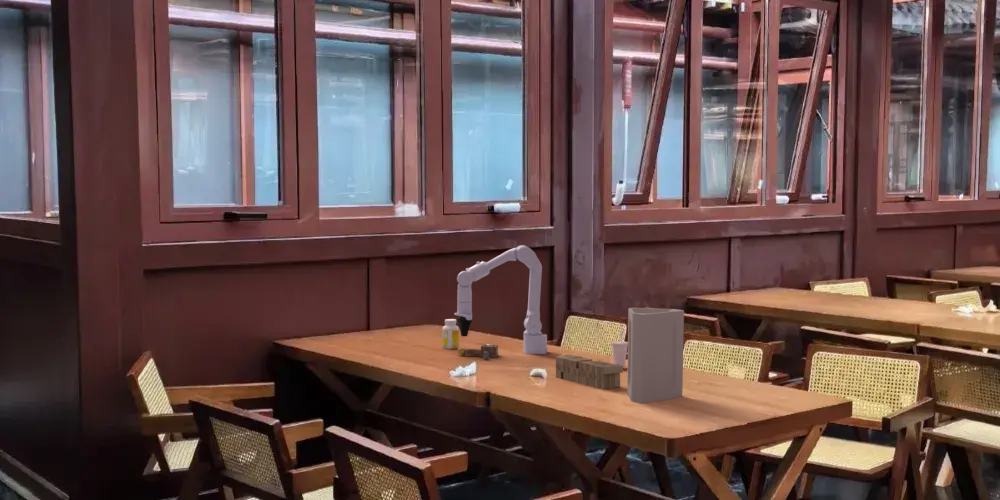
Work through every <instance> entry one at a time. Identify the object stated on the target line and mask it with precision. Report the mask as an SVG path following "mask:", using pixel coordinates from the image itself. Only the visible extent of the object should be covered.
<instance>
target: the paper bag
mask: <svg viewBox="0 0 1000 500" xmlns="http://www.w3.org/2000/svg"><path fill="white" fill-rule="evenodd" d="M627 319H628V323H627V325H628V327H627V331H628V332H627V334H628V335H627V342H628V346H627V383H626V384H627V385H626V386H627V387H626V388H627V390H626V392H627V393H626V394H627V395H628V398H629V400H630V401H631V402H632V403H638V404H648V403H651V402H652V403H653V402H660V401H666V400H671V399H677V398H682V397H683V386H684V385H683V383H684V381H683V380H684V376H683V374H684V370H683V369H684V332H685V331H684V327H685V310H683V309H677V308H656V307H655V308H653V307H652V308H651V307H629V308H628V318H627Z"/></svg>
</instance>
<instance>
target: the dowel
mask: <svg viewBox="0 0 1000 500" xmlns="http://www.w3.org/2000/svg"><path fill="white" fill-rule="evenodd" d="M489 358H490V357H489V352H488V351H484V357H483V360H484V361H489Z"/></svg>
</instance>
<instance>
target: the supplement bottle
mask: <svg viewBox="0 0 1000 500" xmlns="http://www.w3.org/2000/svg"><path fill="white" fill-rule="evenodd" d="M441 329H442V334H441V335H442V337H441V338H442V345H441V347H442V348H443V349H446V350H452V349H453V350H454V349H458V348H460V344H459V343H460V337H459V335H460V327H459V325H457V320H456V318H447V319H446V318H445V319H444V326H442V328H441Z"/></svg>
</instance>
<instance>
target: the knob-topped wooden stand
mask: <svg viewBox="0 0 1000 500" xmlns="http://www.w3.org/2000/svg"><path fill="white" fill-rule="evenodd" d="M486 345H487V344H481V346H480V348H465V347H459V348H457V356H458V357H480V358H484V351H488V352H489V358H497V357H498V356H499V344H492V345H493V347H491V346H486Z"/></svg>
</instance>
